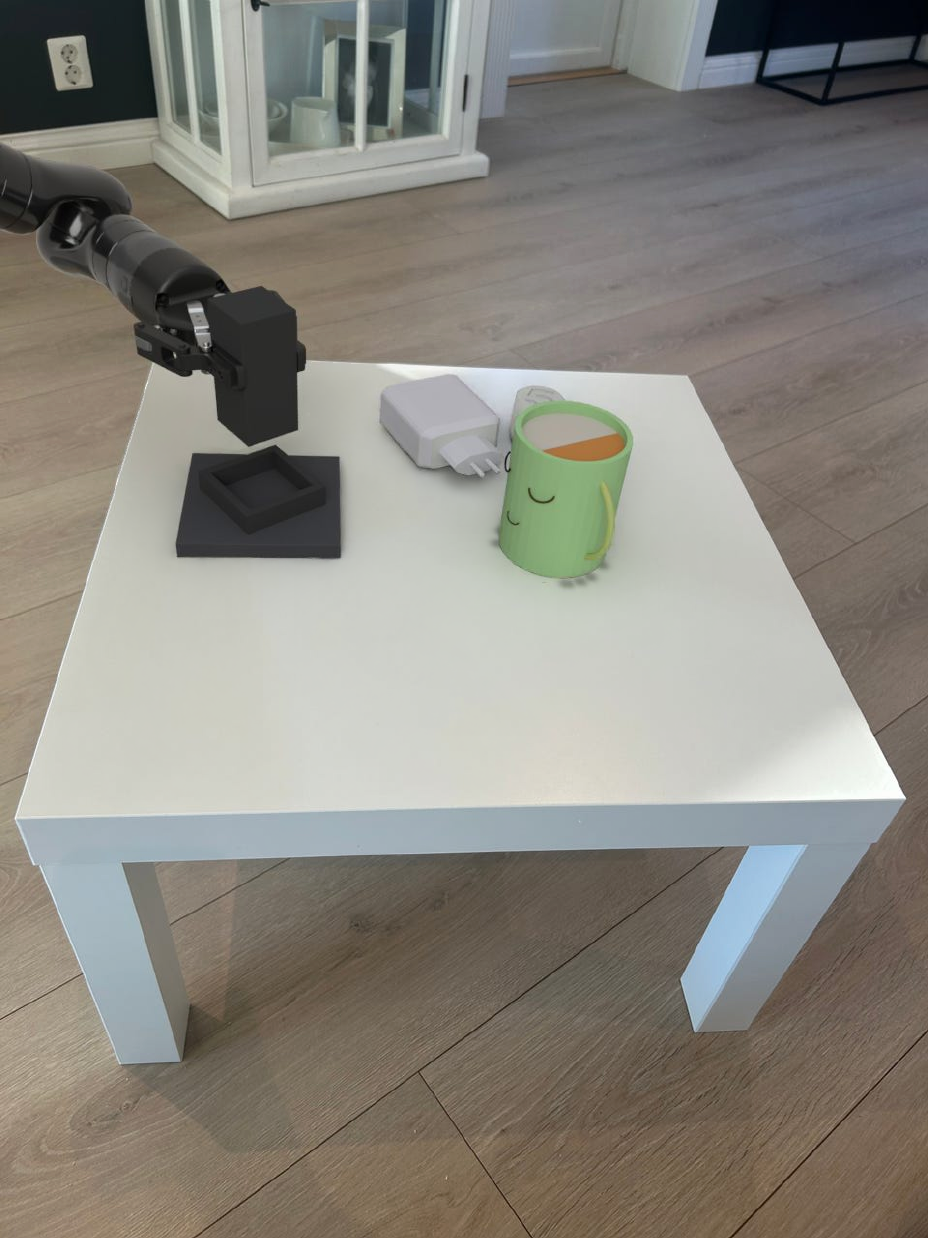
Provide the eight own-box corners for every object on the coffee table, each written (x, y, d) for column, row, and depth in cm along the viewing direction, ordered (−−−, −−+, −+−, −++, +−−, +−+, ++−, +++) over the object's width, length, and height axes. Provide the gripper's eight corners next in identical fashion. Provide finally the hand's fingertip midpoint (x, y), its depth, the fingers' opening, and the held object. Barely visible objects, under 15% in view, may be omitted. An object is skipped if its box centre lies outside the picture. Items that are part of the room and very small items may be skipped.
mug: (475, 525, 91) (489, 413, 83) (567, 501, 95) (590, 392, 87) (546, 608, 83) (569, 493, 75) (643, 578, 87) (675, 466, 79)
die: (559, 430, 105) (566, 389, 101) (553, 455, 101) (561, 413, 97) (514, 422, 105) (520, 381, 102) (506, 446, 101) (512, 404, 98)
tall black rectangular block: (248, 447, 81) (240, 324, 73) (217, 420, 83) (206, 298, 76) (298, 430, 83) (296, 309, 76) (266, 404, 86) (261, 285, 78)
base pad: (177, 557, 83) (172, 524, 81) (193, 465, 93) (190, 434, 91) (340, 558, 85) (340, 526, 83) (339, 468, 95) (339, 438, 93)
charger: (446, 505, 93) (379, 426, 102) (527, 484, 96) (455, 410, 106) (450, 463, 89) (380, 386, 99) (534, 444, 93) (459, 371, 102)
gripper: (240, 310, 92) (344, 388, 84) (97, 346, 85) (196, 436, 76) (235, 232, 87) (345, 306, 79) (83, 263, 80) (187, 349, 71)
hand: (271, 370), depth 78 cm, fingers closed on tall black rectangular block, 5 cm apart
